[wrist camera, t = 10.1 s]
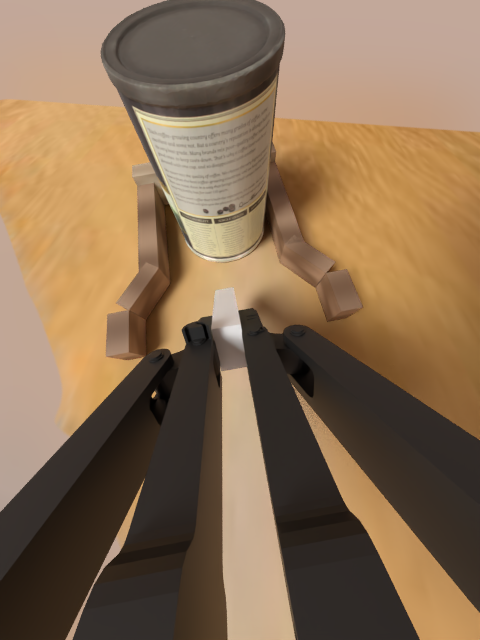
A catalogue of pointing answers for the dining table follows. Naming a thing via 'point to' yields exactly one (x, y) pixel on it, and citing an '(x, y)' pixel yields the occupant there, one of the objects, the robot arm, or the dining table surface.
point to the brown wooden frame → (155, 277)
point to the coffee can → (204, 111)
